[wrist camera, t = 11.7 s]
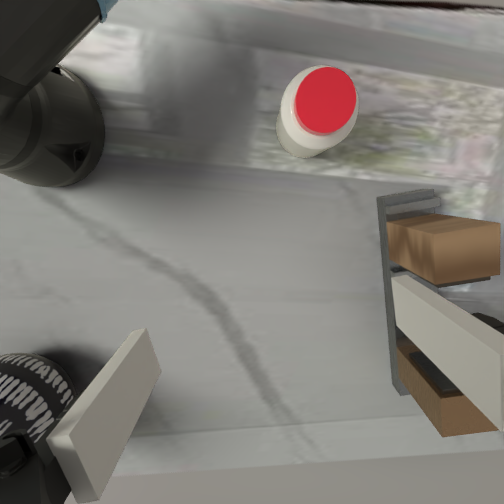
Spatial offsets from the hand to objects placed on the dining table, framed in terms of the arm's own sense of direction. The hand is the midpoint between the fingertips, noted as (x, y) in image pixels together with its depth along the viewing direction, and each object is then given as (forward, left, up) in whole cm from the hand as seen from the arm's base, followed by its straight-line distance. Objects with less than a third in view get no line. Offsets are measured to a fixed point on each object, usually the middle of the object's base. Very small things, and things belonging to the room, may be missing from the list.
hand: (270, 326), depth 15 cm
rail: (+11, +19, -25) cm, 34 cm away
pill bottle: (-14, +8, -26) cm, 30 cm away
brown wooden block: (+2, +19, -23) cm, 30 cm away
